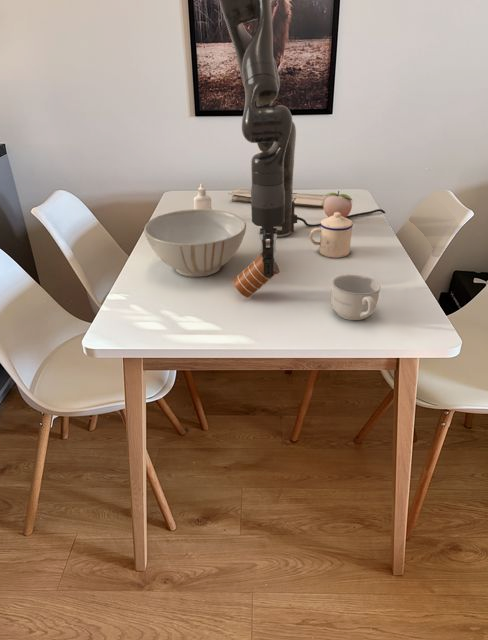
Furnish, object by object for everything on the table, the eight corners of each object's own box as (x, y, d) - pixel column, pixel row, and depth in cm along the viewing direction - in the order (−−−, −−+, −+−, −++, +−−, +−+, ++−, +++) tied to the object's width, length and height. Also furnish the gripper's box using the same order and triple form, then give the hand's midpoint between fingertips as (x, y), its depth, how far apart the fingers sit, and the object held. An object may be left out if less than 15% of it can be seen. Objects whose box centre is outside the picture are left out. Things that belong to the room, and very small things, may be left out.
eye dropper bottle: (209, 222, 184) (208, 186, 178) (193, 221, 185) (191, 185, 179) (213, 218, 188) (211, 182, 181) (197, 217, 189) (195, 181, 182)
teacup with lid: (347, 246, 166) (350, 207, 160) (352, 258, 158) (356, 218, 152) (306, 246, 166) (308, 208, 159) (310, 259, 158) (312, 219, 152)
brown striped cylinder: (249, 302, 136) (231, 285, 134) (251, 291, 141) (233, 274, 139) (280, 276, 132) (261, 258, 129) (280, 265, 137) (262, 247, 135)
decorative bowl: (209, 298, 138) (207, 252, 132) (128, 274, 150) (122, 231, 144) (264, 260, 157) (264, 218, 151) (188, 242, 169) (185, 203, 163)
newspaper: (329, 199, 204) (329, 190, 202) (325, 210, 194) (325, 200, 192) (235, 194, 211) (235, 184, 209) (226, 204, 201) (226, 194, 199)
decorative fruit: (319, 224, 182) (321, 193, 177) (324, 216, 189) (326, 186, 183) (348, 226, 180) (351, 196, 174) (352, 218, 186) (355, 188, 181)
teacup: (325, 304, 135) (327, 273, 130) (369, 302, 135) (373, 271, 131) (338, 333, 123) (341, 301, 119) (386, 331, 124) (391, 298, 119)
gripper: (285, 212, 119) (284, 283, 128) (284, 192, 131) (284, 258, 140) (249, 212, 120) (252, 283, 129) (252, 192, 132) (254, 258, 141)
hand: (268, 270), depth 134 cm, fingers closed on brown striped cylinder, 6 cm apart
